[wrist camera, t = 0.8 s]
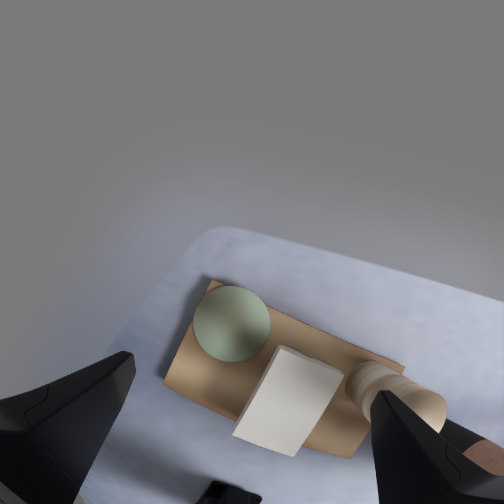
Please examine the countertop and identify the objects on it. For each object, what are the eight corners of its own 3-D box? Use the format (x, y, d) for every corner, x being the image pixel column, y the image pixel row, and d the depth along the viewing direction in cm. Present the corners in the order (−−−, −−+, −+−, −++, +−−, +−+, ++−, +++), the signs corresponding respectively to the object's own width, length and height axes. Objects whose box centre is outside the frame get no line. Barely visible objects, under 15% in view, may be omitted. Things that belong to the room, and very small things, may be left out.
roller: (373, 409, 23) (423, 456, 13) (336, 396, 24) (376, 448, 13) (395, 368, 24) (457, 400, 13) (359, 354, 24) (414, 385, 14)
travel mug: (462, 418, 23) (560, 466, 4) (436, 464, 22) (515, 530, 3) (427, 414, 24) (535, 481, 4) (398, 464, 23) (477, 552, 3)
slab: (289, 437, 23) (293, 457, 19) (235, 416, 24) (231, 434, 20) (332, 364, 24) (344, 375, 20) (277, 340, 25) (280, 348, 21)
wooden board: (347, 453, 24) (350, 460, 22) (165, 380, 26) (160, 384, 24) (402, 359, 25) (408, 362, 24) (216, 274, 27) (213, 272, 26)
